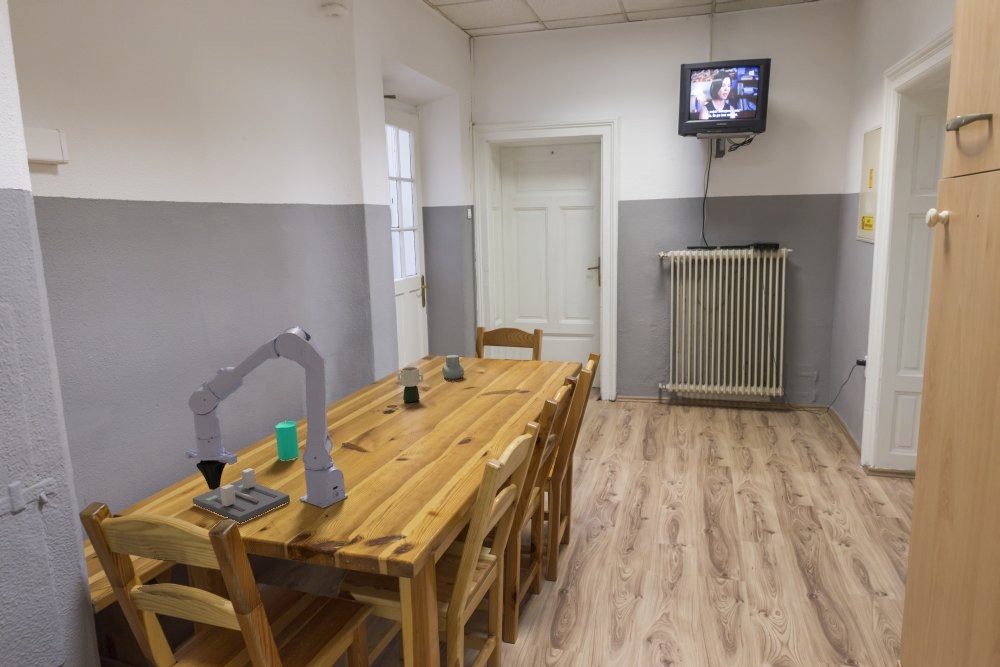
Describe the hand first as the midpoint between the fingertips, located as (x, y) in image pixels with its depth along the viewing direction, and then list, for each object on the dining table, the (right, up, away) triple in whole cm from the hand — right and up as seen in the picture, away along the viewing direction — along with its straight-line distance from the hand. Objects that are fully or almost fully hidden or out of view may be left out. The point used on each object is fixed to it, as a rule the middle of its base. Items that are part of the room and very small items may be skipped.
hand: (214, 488), depth 158 cm
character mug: (+36, +12, +91) cm, 98 cm away
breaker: (+6, -1, +7) cm, 9 cm away
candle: (+7, +1, +34) cm, 35 cm away
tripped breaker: (+5, -3, -3) cm, 6 cm away
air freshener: (+50, +18, +125) cm, 136 cm away
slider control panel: (+6, -5, +3) cm, 8 cm away
